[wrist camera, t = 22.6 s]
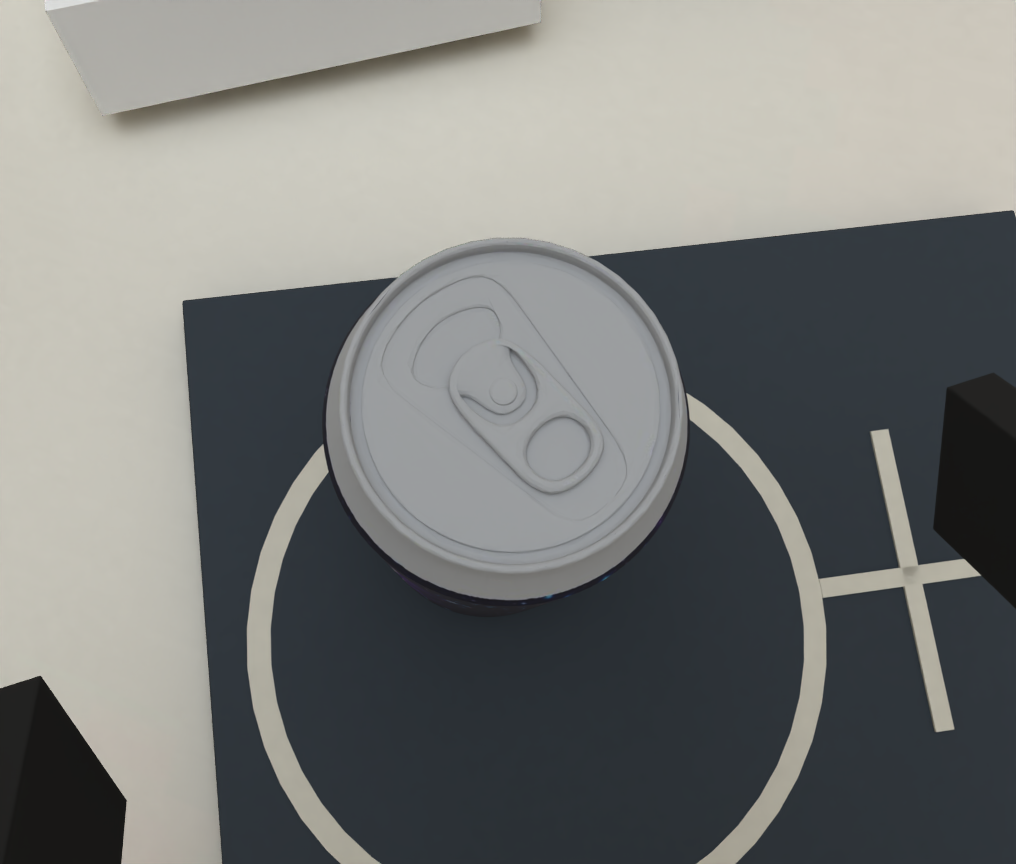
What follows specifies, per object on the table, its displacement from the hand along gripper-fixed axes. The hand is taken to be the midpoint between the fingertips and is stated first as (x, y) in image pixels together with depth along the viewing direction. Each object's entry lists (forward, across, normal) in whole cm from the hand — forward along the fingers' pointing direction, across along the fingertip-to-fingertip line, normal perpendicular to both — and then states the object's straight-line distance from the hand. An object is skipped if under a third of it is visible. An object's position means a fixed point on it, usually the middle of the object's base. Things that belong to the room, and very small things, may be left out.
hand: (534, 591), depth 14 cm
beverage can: (+10, 0, -6) cm, 12 cm away
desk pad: (+8, +4, -10) cm, 13 cm away
